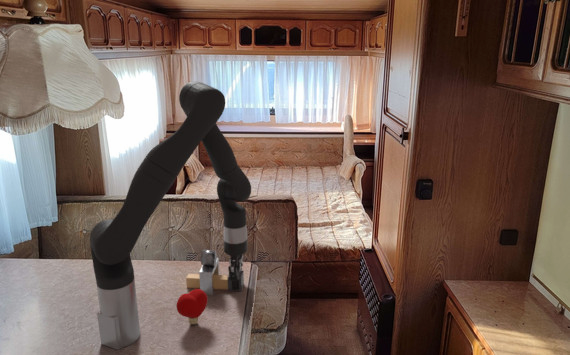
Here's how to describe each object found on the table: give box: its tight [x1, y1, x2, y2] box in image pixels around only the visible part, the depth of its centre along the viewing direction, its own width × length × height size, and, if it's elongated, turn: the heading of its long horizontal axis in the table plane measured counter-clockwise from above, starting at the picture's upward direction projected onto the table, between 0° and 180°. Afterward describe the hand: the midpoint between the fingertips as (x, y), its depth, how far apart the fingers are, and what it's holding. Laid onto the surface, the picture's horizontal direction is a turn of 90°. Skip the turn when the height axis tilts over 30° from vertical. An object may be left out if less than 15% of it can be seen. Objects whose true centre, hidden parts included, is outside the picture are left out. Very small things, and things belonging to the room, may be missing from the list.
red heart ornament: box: [175, 288, 209, 326], centre depth 120 cm, size 9×7×10 cm
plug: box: [185, 270, 245, 292], centre depth 140 cm, size 18×4×5 cm, turn 86°
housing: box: [198, 249, 220, 296], centre depth 139 cm, size 4×10×13 cm, turn 176°
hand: (236, 284), depth 140 cm, fingers closed on plug, 4 cm apart
